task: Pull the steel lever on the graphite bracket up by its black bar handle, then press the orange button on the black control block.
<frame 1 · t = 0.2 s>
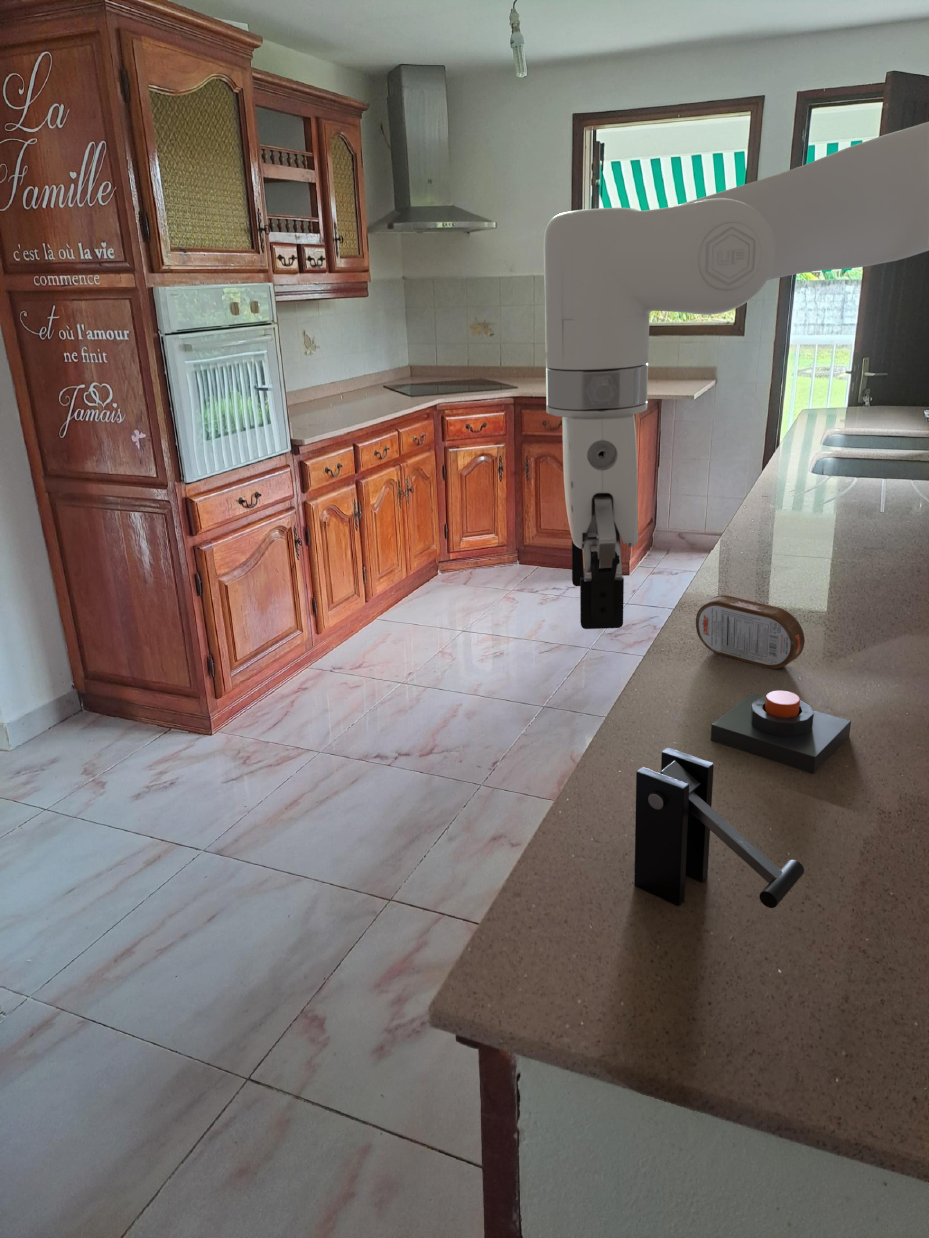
hand: (595, 604, 72), 26 cm above the counter, tool pointing down, fingers open, 9 cm apart
tin: (745, 660, 121), on the counter
lever: (723, 830, 71), point 9 cm above the counter, hinge at -28.0°
bracket: (670, 892, 77), on the counter
control block: (779, 739, 101), on the counter
button: (782, 704, 99), point 5 cm above the counter, slide at 0.2 cm
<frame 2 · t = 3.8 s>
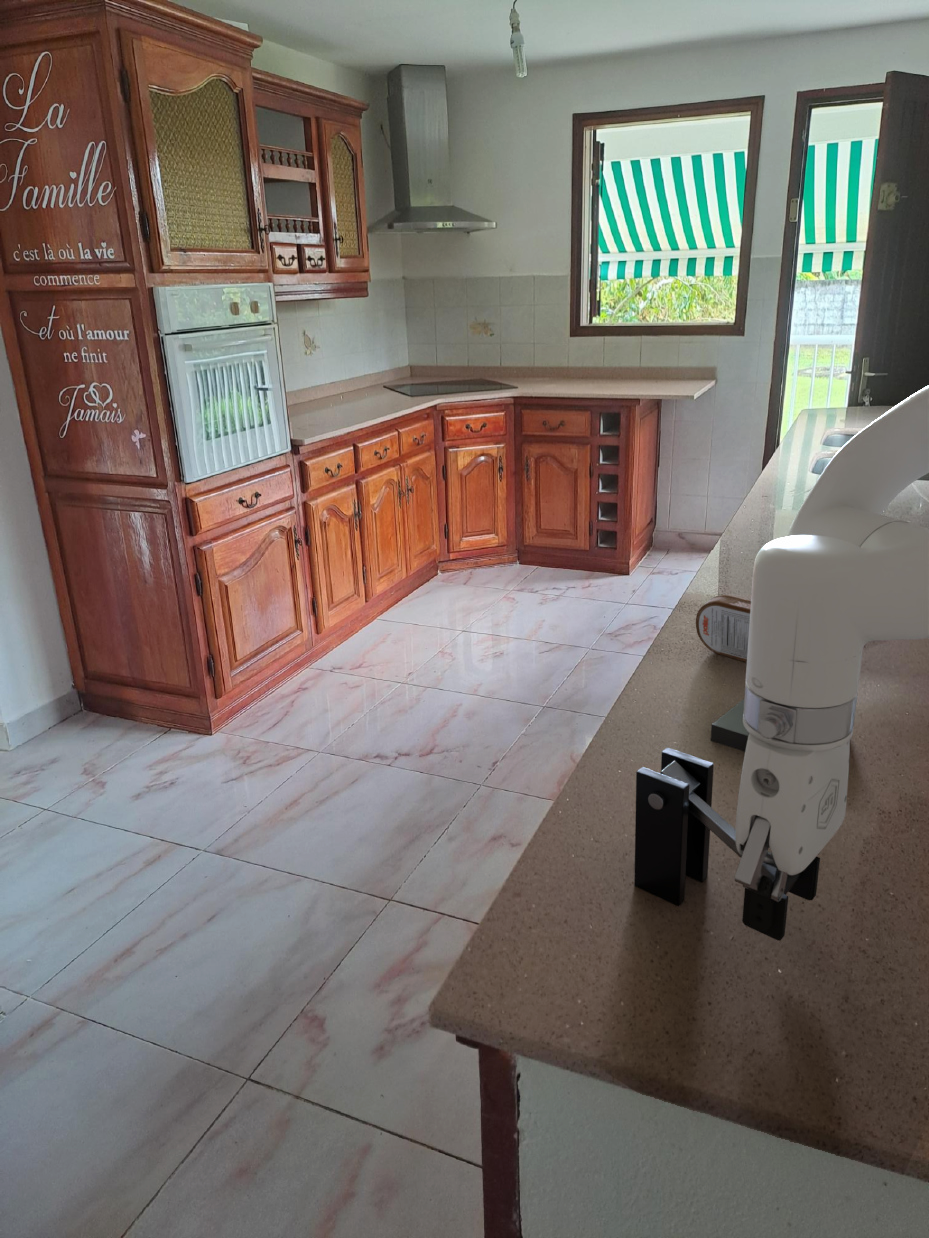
hand: (779, 909, 70), 3 cm above the counter, tool pointing down, fingers closed on lever, 5 cm apart
lever: (723, 830, 71), point 9 cm above the counter, hinge at -28.0°, touching gripper
everything else where it was.
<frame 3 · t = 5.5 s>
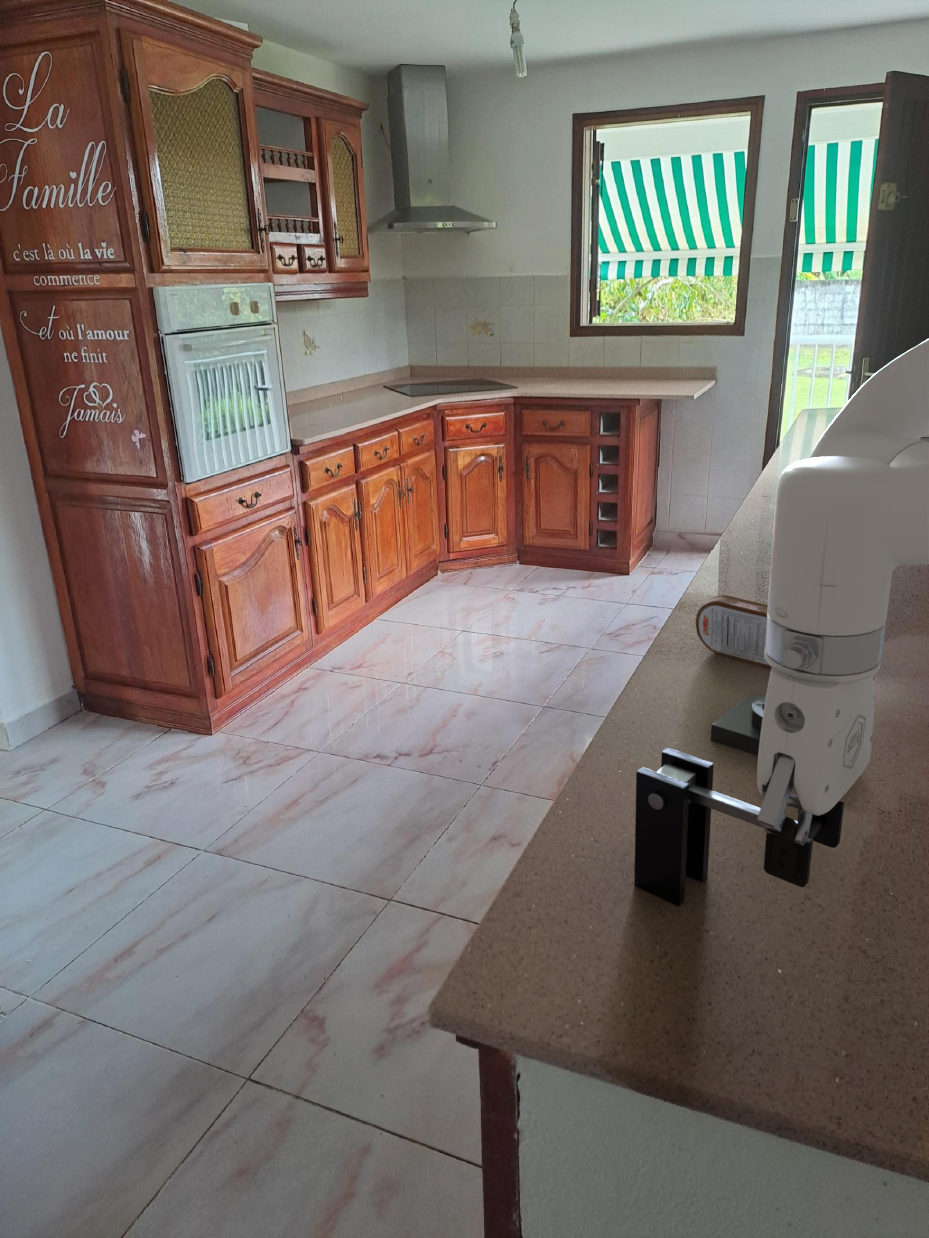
hand: (802, 856, 67), 9 cm above the counter, tool pointing down, fingers closed on lever, 5 cm apart
lever: (731, 806, 70), point 11 cm above the counter, hinge at 0.6°, touching gripper
everything else where it was.
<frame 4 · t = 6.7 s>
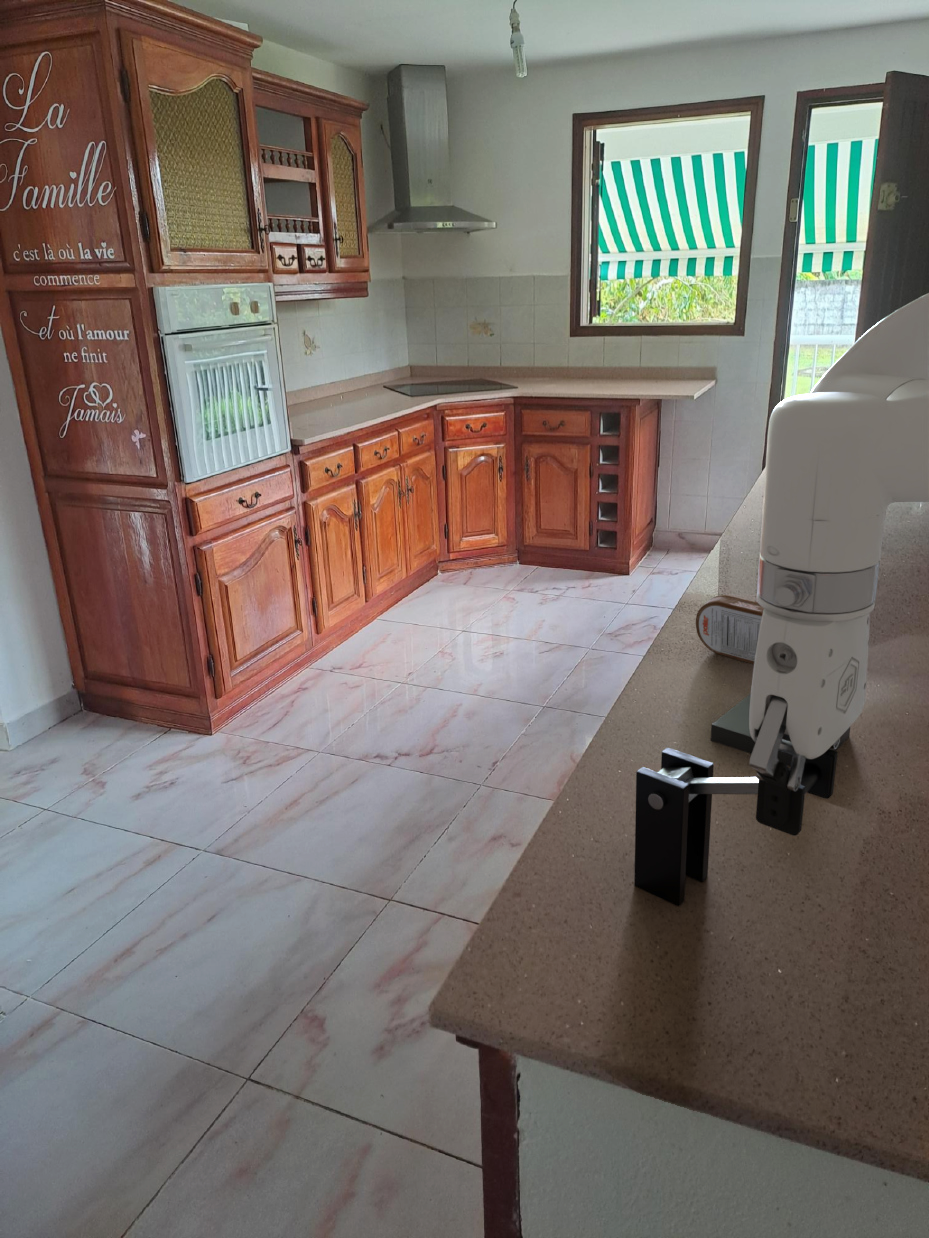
hand: (794, 806, 66), 13 cm above the counter, tool pointing down, fingers closed on lever, 5 cm apart
lever: (729, 785, 70), point 13 cm above the counter, hinge at 21.3°, touching gripper
everything else where it was.
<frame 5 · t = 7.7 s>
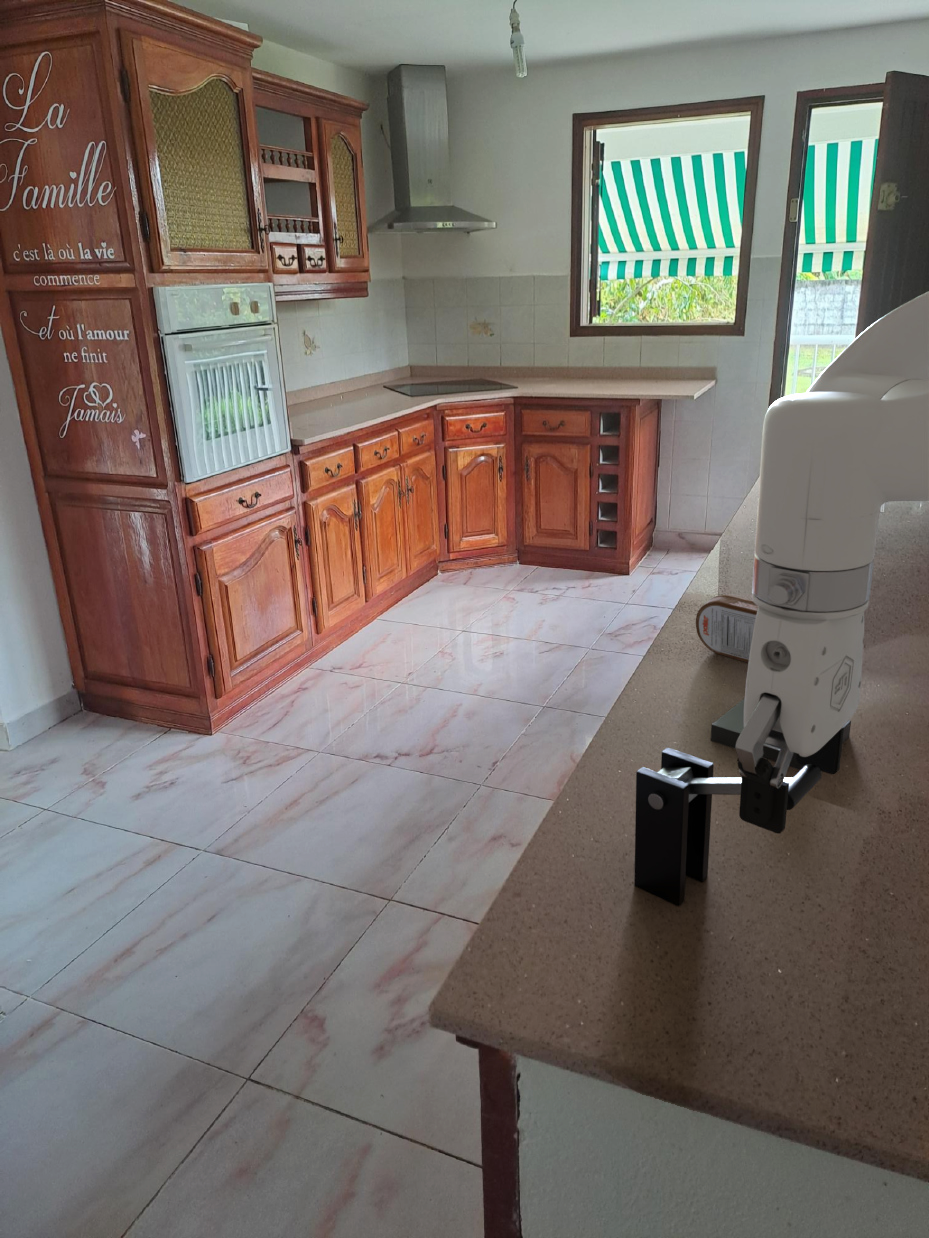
hand: (790, 795, 66), 14 cm above the counter, tool pointing down, fingers open, 9 cm apart
lever: (729, 786, 70), point 13 cm above the counter, hinge at 20.9°
everything else where it was.
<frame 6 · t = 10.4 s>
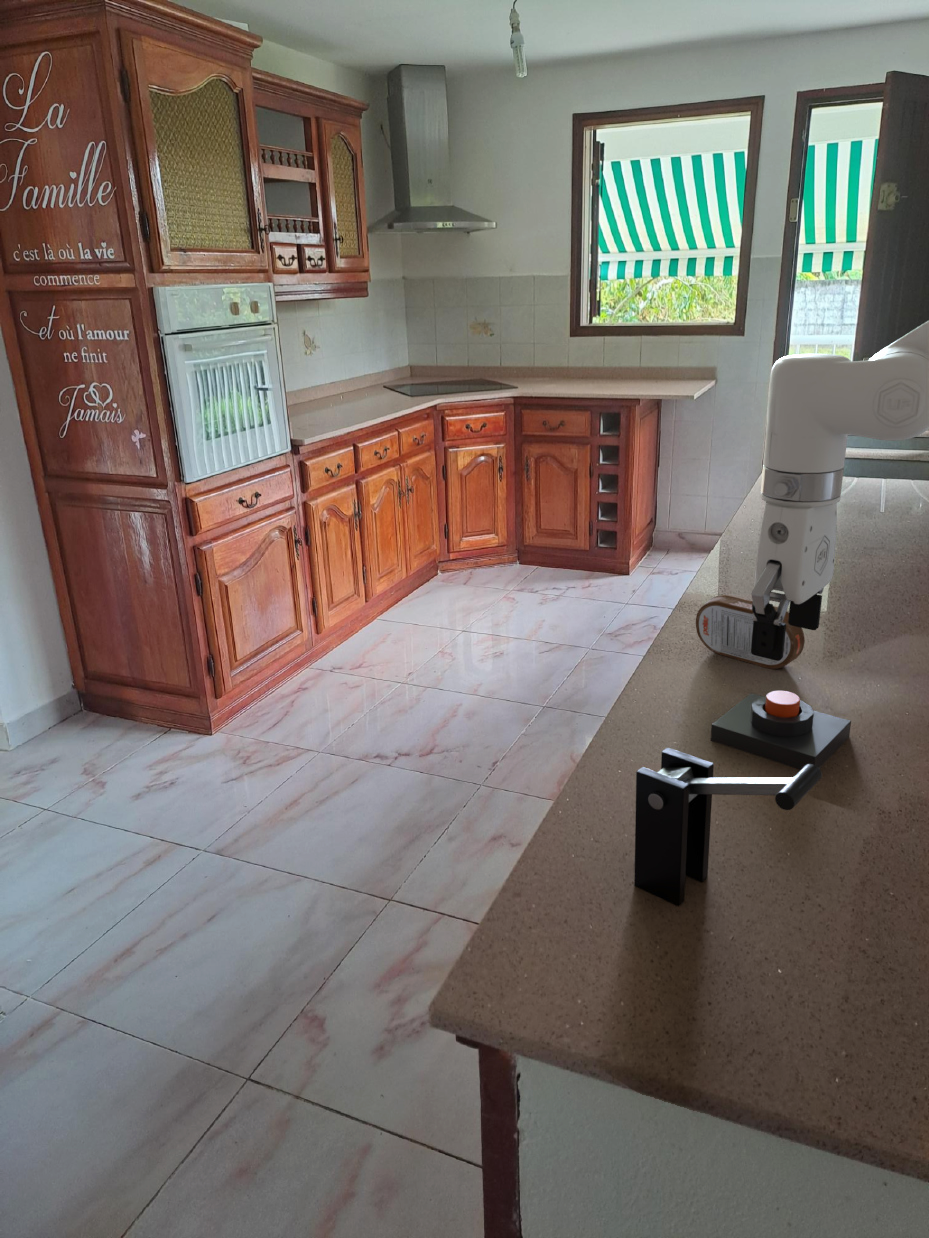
hand: (785, 641, 94), 13 cm above the counter, tool pointing down, fingers open, 9 cm apart
nothing on the counter moved.
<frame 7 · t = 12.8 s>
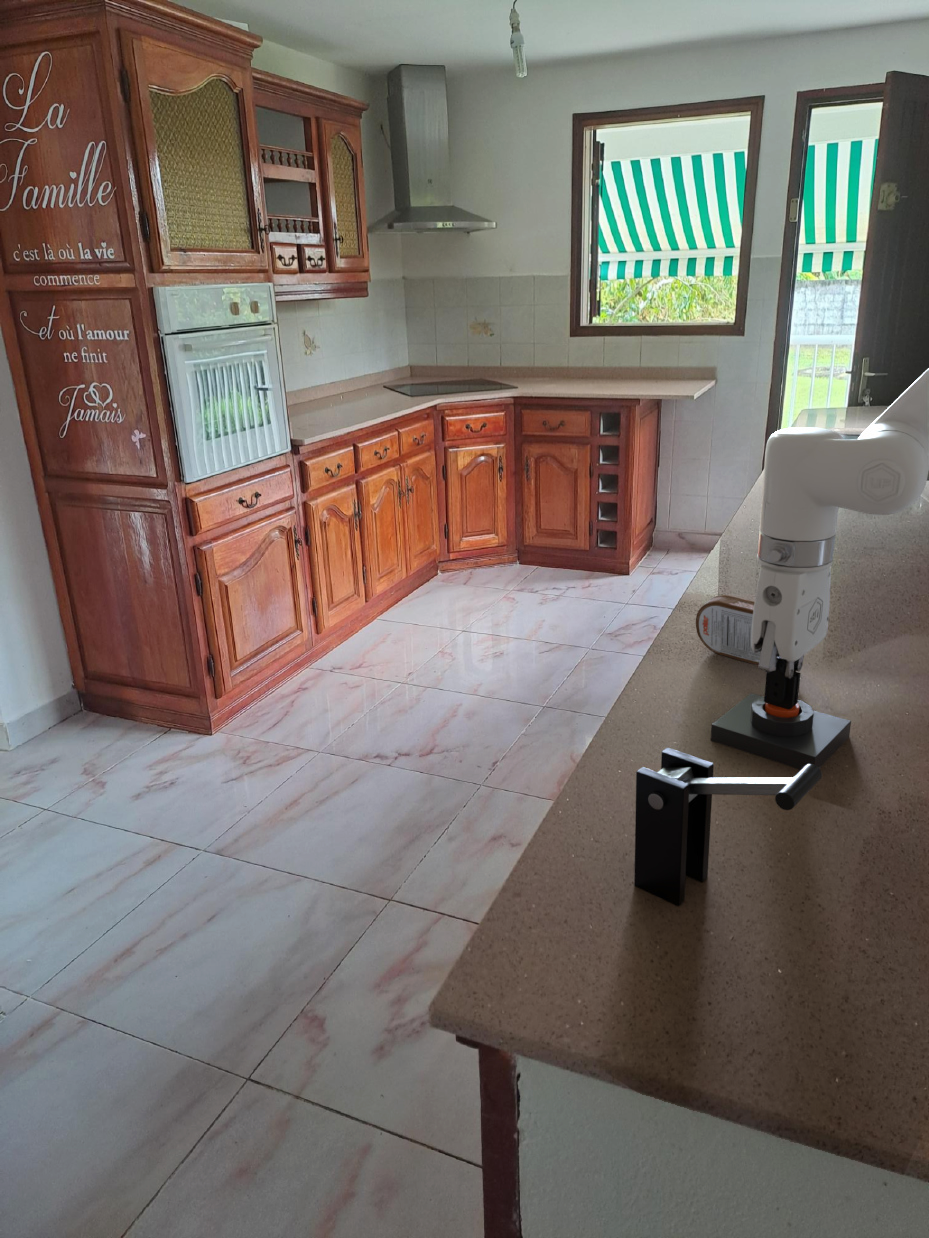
hand: (780, 703, 99), 5 cm above the counter, tool pointing down, fingers closed
button: (781, 710, 99), point 4 cm above the counter, slide at -0.7 cm, touching gripper
everything else where it was.
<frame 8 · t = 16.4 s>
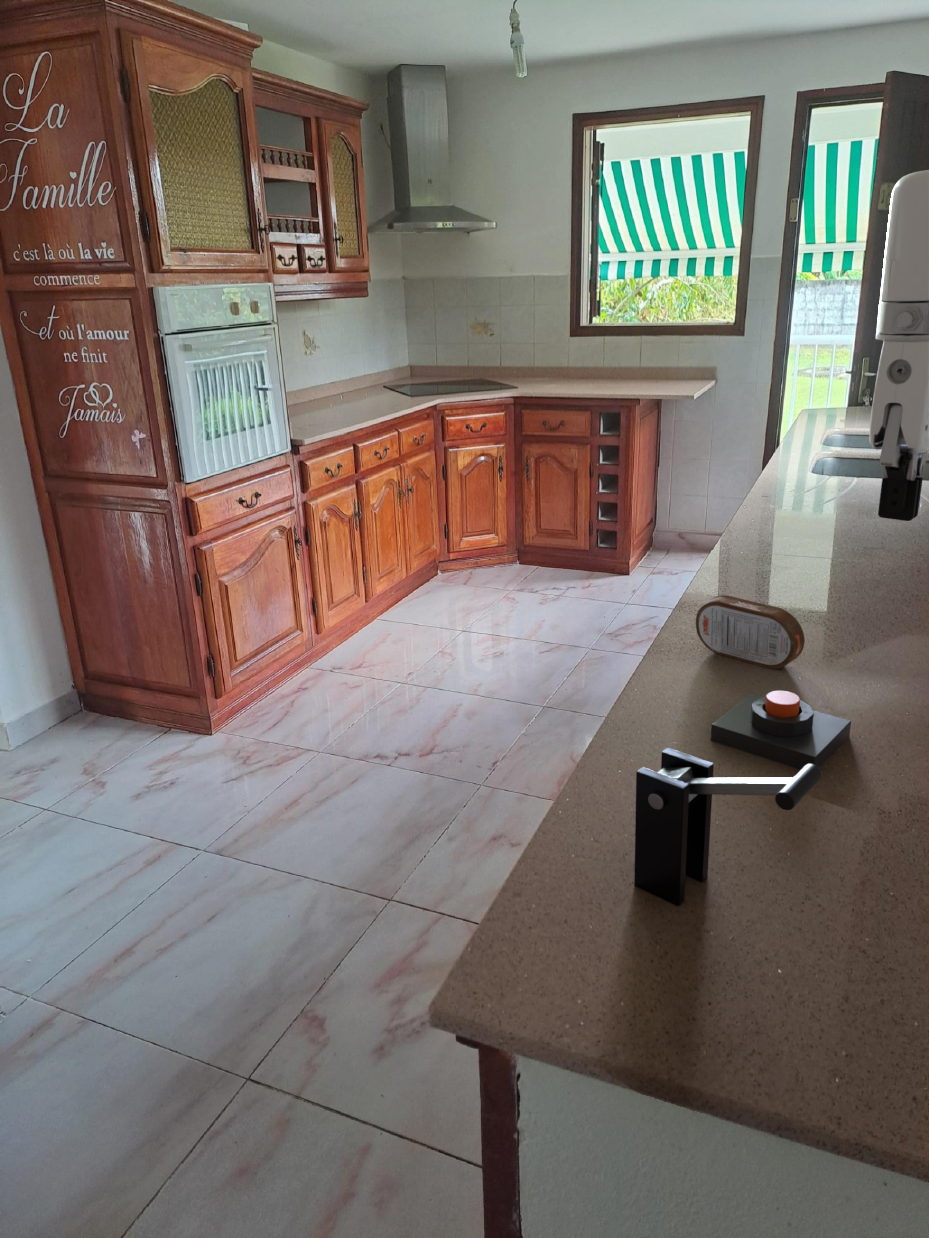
hand: (897, 517, 86), 27 cm above the counter, tool pointing down, fingers closed
button: (782, 704, 99), point 5 cm above the counter, slide at 0.2 cm
everything else where it was.
at the end: lever at +21° (first picture: -28°); button pushed in 1.1 cm at the most during the clip, back to 0.2 cm at the end; button slide at 0.2 cm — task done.
